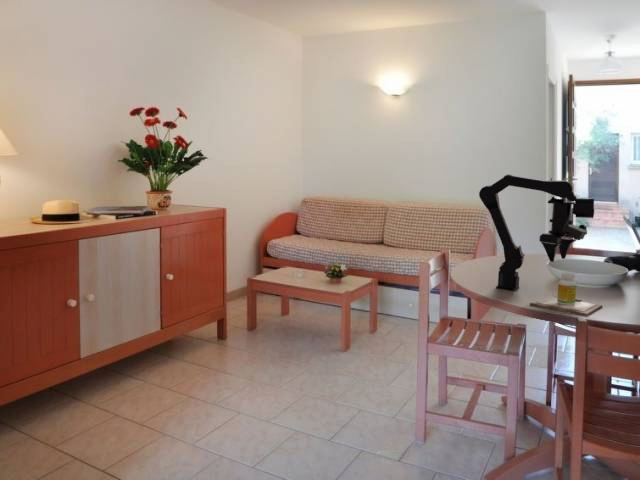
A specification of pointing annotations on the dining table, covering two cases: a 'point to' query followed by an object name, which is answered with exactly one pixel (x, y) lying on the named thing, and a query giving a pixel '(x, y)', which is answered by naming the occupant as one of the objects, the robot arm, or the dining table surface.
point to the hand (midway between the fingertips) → (557, 260)
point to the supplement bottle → (566, 289)
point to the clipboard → (577, 308)
